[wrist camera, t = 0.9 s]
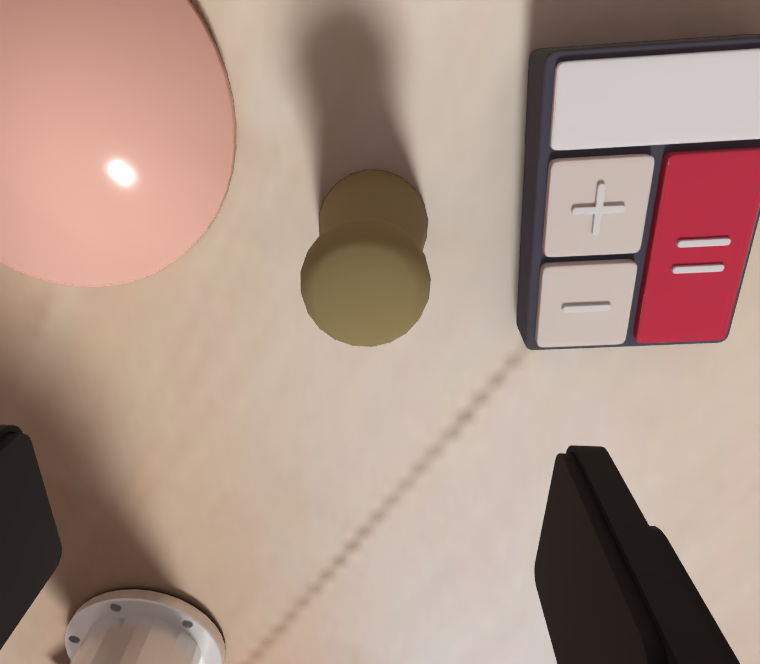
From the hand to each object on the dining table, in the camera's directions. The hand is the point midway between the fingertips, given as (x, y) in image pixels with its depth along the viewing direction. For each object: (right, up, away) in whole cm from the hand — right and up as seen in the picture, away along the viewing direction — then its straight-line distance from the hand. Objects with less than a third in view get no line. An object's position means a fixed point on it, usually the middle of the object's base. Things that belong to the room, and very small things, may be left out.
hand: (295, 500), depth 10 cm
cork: (+1, +9, +21) cm, 23 cm away
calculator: (+15, +10, +20) cm, 27 cm away
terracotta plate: (-15, +14, +19) cm, 28 cm away
